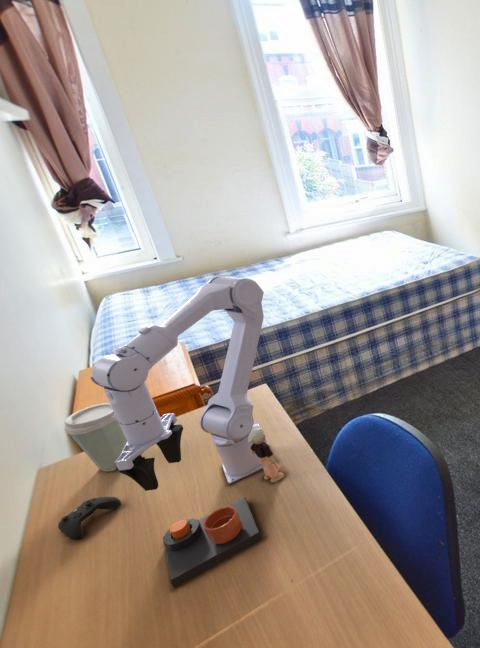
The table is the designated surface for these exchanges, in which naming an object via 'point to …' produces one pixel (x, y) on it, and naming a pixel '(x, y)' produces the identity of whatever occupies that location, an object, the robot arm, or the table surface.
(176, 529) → the tare button
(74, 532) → the game controller
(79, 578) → the table surface
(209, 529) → the dish
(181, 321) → the robot arm
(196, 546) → the grey push button box
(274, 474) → the grandmother figurine
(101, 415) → the disposable coffee cup
